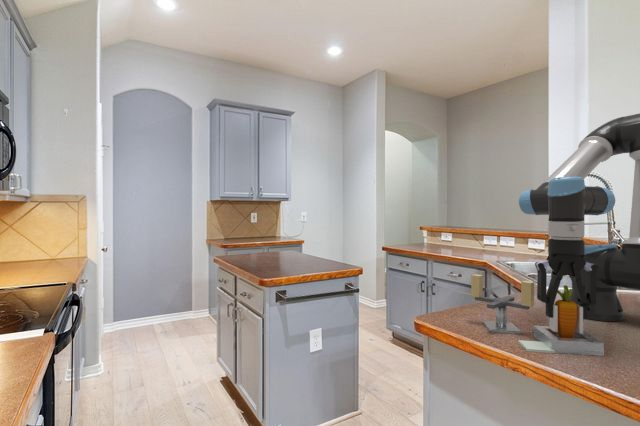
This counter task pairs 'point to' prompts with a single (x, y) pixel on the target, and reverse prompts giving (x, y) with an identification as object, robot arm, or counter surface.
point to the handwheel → (526, 297)
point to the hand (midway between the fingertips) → (565, 330)
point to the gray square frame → (569, 342)
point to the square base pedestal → (501, 323)
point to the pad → (535, 346)
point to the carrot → (566, 314)
